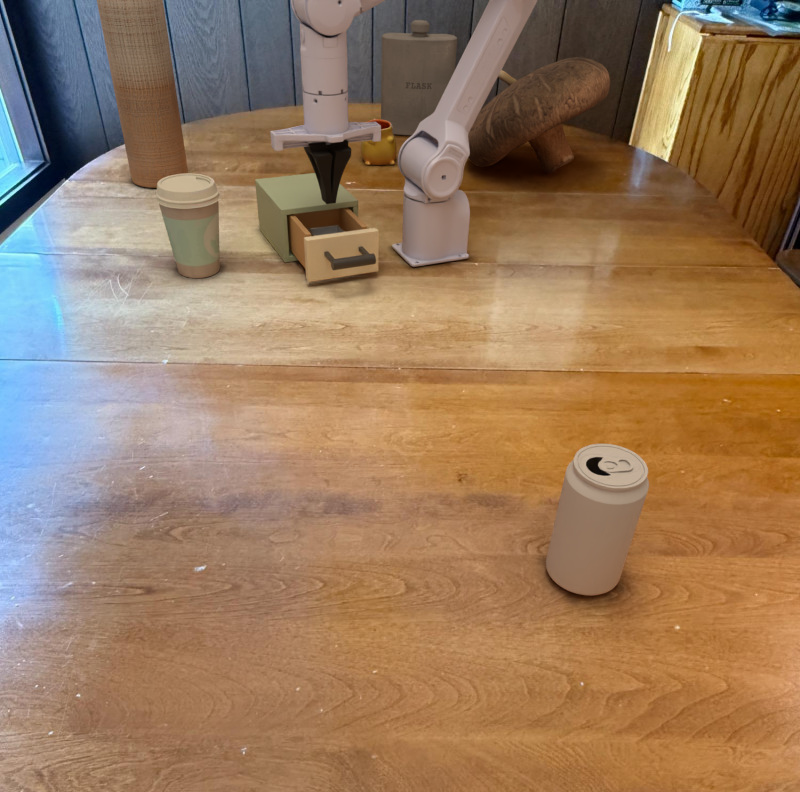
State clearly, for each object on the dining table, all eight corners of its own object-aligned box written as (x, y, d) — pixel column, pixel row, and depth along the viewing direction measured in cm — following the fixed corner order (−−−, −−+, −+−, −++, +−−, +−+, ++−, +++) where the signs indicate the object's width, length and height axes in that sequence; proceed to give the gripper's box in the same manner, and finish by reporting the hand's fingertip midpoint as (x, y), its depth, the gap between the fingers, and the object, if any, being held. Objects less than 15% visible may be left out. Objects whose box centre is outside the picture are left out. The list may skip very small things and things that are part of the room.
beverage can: (537, 550, 69) (559, 440, 61) (607, 547, 70) (638, 438, 62) (553, 603, 64) (580, 491, 56) (628, 599, 65) (665, 488, 57)
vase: (200, 178, 140) (175, -9, 121) (160, 193, 133) (126, -1, 115) (161, 167, 143) (130, -15, 125) (120, 181, 137) (81, -9, 119)
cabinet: (358, 252, 117) (358, 200, 112) (284, 262, 114) (281, 209, 108) (328, 220, 126) (327, 171, 121) (259, 229, 123) (254, 179, 118)
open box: (338, 243, 114) (338, 224, 112) (352, 259, 110) (352, 239, 108) (308, 247, 113) (307, 228, 111) (322, 263, 109) (321, 244, 107)
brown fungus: (475, 142, 163) (543, 19, 148) (560, 207, 159) (638, 87, 145) (415, 135, 140) (489, -12, 126) (513, 210, 137) (599, 68, 123)
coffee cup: (216, 285, 107) (204, 196, 99) (158, 278, 108) (141, 189, 100) (238, 261, 114) (228, 175, 105) (183, 254, 115) (169, 169, 107)
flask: (381, 135, 162) (382, 22, 149) (380, 127, 166) (381, 17, 153) (452, 137, 163) (459, 24, 149) (449, 129, 167) (456, 19, 154)
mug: (397, 167, 147) (398, 128, 143) (361, 166, 147) (360, 128, 142) (394, 148, 156) (394, 111, 152) (360, 147, 156) (359, 111, 151)
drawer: (390, 284, 107) (391, 242, 103) (319, 295, 104) (317, 253, 100) (347, 239, 118) (346, 200, 115) (282, 248, 115) (279, 208, 111)
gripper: (278, 102, 92) (286, 217, 101) (390, 93, 97) (388, 204, 106) (262, 88, 97) (271, 199, 106) (369, 80, 102) (369, 188, 111)
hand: (328, 201), depth 106 cm, fingers closed
